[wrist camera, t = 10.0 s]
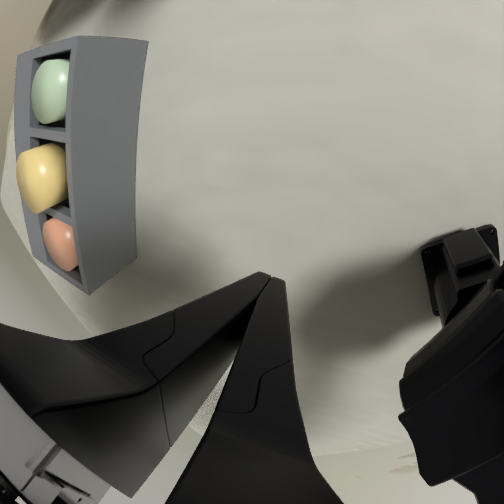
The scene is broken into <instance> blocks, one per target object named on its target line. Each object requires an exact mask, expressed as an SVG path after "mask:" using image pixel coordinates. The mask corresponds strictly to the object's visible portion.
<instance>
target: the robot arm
mask: <svg viewBox="0 0 504 504" xmlns="http://www.w3.org/2000/svg"><path fill="white" fill-rule="evenodd" d="M490 230H493V231H492V233H491V234H489V231H490ZM425 251H430V252H429V254H424V253H425ZM421 257H422V261H423V265H424V270H425V274H426V279H427V284H428V289H429V294H430V299H431V305H432V311H433V314H434V315H435V316H440V319H441V324H442V330H441V331H439V332H438V333H437V334H436V335H435V336H434V337H433V338H432V339H431V340H430V341H429V342H428V343H427V344H426V345H424V346H423V347H422V348H421V349H420V350H419V351H418V352H417V353H415V354H414V355H413V356H412V357H411V358H410V360H409V361H408V362H407V363H406V366H405V371H404V374H403V378H402V379H401V380H400V381H399V388H400V398H401V402H402V406H403V408H404V412H403V413H401V414H399V416H398V419H399V421H400V422H401V423H402V425H403V426H404V427H405V429H406V430H407V432H408V434H409V436H410V438H411V440H412V442H413V445H414V448H415V452H416V457H417V462H418V468H419V473H420V475H421V476H422V478H423V479H424V480H425V481H426V483H427V484H428V485H429V486H436V485H438V484H441V483H443V482H446V481H448V480H451V479H452V480H454V481H455V482H457V483H458V484H460V485H461V486H463V487H464V488H466V489H467V490H469V491H471V492H472V493H473V494H474V495H475V498H476V500H477V503H478V504H504V261H503V265H502V266H500V257H499V245H498V236H497V230H496V228H495V227H494V226H493V225H491V224H490V225H486V226H483V227H480V228H477V229H474V228H471V229H468V230H465V231H462V232H459V233H456V234H453V235H450V236H447V237H445V238H444V239H443V240H441V241H437V242H434V243H431V244H428V245H425V246H423V247H422V248H421ZM437 309H439V310H438V311H436V310H437ZM234 358H235V359H234ZM233 360H234V362H233V364H232V367H231V369H230V372H229V375H228V377H227V380H226V382H225V385H224V387H223V390H222V393H221V395H220V398H219V400H218V403H217V405H216V408H215V411H214V413H213V415H212V418H211V420H210V423H209V425H208V427H207V429H206V431H205V433H204V435H203V437H202V439H201V441H200V443H199V444H198V446H197V448H196V450H195V452H194V453H193V455H192V457H191V459H190V461H189V462H188V464H187V466H186V468H185V469H184V471H183V473H182V475H181V476H180V478H179V480H178V482H177V484H176V485H175V487H174V489H173V490H172V492H171V494H170V495H169V497H168V499H167V501H166V502H165V504H344V503H343V502H342V501H341V499H340V498H339V497H338V496H337V495H336V493H335V492H334V491H333V489H332V488H331V486H330V485H329V484H328V483H327V481H326V480H325V479H324V477H323V476H322V474H321V473H320V472H319V470H318V469H317V467H316V465H315V463H314V461H313V458H312V455H311V452H310V448H309V444H308V440H307V436H306V432H305V427H304V423H303V419H302V415H301V411H300V407H299V402H298V397H297V392H296V385H295V377H294V366H293V356H292V345H291V334H290V323H289V313H288V303H287V293H286V284H285V281H284V280H282V279H279V278H276V277H272V278H271V275H268V274H266V273H263V272H256V273H254V274H252V275H250V276H248V277H245V278H243V279H241V280H239V281H236V282H234V283H232V284H230V285H228V286H225V287H223V288H221V289H219V290H216V291H214V292H212V293H210V294H208V295H205V296H203V297H201V298H199V299H196V300H194V301H192V302H189V303H187V304H185V305H183V306H180V307H178V308H176V309H174V310H173V311H172V310H171V311H169V312H166V313H164V314H162V315H159V316H157V317H154V318H152V319H149V320H147V321H144V322H141V323H138V324H135V325H132V326H129V327H126V328H122V329H119V330H116V331H112V332H109V333H106V334H102V335H99V336H95V337H92V338H88V339H84V340H73V341H71V340H62V339H58V338H53V337H49V336H45V335H41V334H37V333H33V332H29V331H25V330H21V329H17V328H14V327H11V326H7V325H4V324H1V323H0V504H18V503H17V502H16V501H15V499H16V498H17V497H18V496H20V497H21V498H22V500H23V501H25V503H26V504H98V503H99V502H100V500H101V499H102V498H103V496H104V495H105V493H106V492H107V491H108V489H109V488H110V487H111V486H113V487H114V488H115V489H117V490H119V491H120V492H122V493H123V494H125V495H126V496H128V497H130V498H132V497H133V496H134V494H135V493H136V492H137V491H138V490H139V488H140V487H141V486H142V484H143V483H144V482H145V481H146V479H147V478H148V477H149V475H150V474H151V473H152V472H153V470H154V469H155V468H156V466H157V465H158V464H159V463H160V461H161V460H162V459H163V457H164V456H165V455H166V453H167V452H168V451H169V449H170V447H172V445H173V444H174V443H175V441H176V440H177V439H178V437H179V436H180V435H181V433H182V432H183V431H184V429H185V428H186V426H187V425H188V424H189V422H190V421H191V420H192V418H193V417H194V415H195V414H196V413H197V411H198V410H199V408H200V407H201V406H202V404H203V403H204V401H205V400H206V399H207V397H208V396H209V394H210V393H211V391H212V390H213V389H214V387H215V386H216V384H217V383H218V381H219V380H220V379H221V377H222V376H223V374H224V373H225V371H226V370H227V368H228V367H229V365H230V364H231V363H232V361H233Z"/></svg>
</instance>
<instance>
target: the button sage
mask: <svg viewBox="0 0 504 504" xmlns="http://www.w3.org/2000/svg"><path fill="white" fill-rule="evenodd" d="M69 62H70V58H68V59H55V60H47V61H45V62H43V63H42V64H41V65H40V67H39V68H38V70H37V72H36V74H35V77H34V80H33V84H32V91H31V101H32V108H33V111H34V114H35V116H36V118H37V119H38V121H39V122H41V123H43V124H47V123H51V122H55V121H59V120H63V119H66V97H67V82H68V71H69Z"/></svg>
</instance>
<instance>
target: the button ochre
mask: <svg viewBox="0 0 504 504" xmlns="http://www.w3.org/2000/svg"><path fill="white" fill-rule="evenodd" d="M16 176H17V183H18V187H19V190H20V193H21V196H22V198H23V200H24V202H25V204H26V205H27V207H28V208H29V209H30V210H31V211H32V212H33V213H36V214H37V213H40V212H42V211H44V210H46V209H48V208H50V207H52V206H54V205H56V204H58V203H60V202H62V201H64V200H66V199H67V198H69V195H68V184H67V168H66V150H65V149H64V148H63V147H62V145H60V144H59V143H57V142H51V143H48V144H45V145H42V146H39V147H36V148H33V149H30V150H27V151H25V152H22V153H21V154H20V155H19V157H18V160H17V165H16Z"/></svg>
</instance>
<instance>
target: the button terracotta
mask: <svg viewBox="0 0 504 504" xmlns="http://www.w3.org/2000/svg"><path fill="white" fill-rule="evenodd" d="M43 238H44V242H45V245H46V248H47V250H48V252H49V254H50V256H51V257H52V259H53V260H54V262H55V263H56V264H57V265H58V266H59V267H60V268H61V269H63V270H65V271H71V270H72V269H73V268H75V267H76V266H78V265H79V264H78V259H77V254H76V248H75V242H74V236H73V229H72V227H71V226H70V225H68V224H66V223H64V222H62V221H60V220H58V219H56V218H54V217H53V218H52V219H50V220H48V221H46V222H45V223H44V225H43Z"/></svg>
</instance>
